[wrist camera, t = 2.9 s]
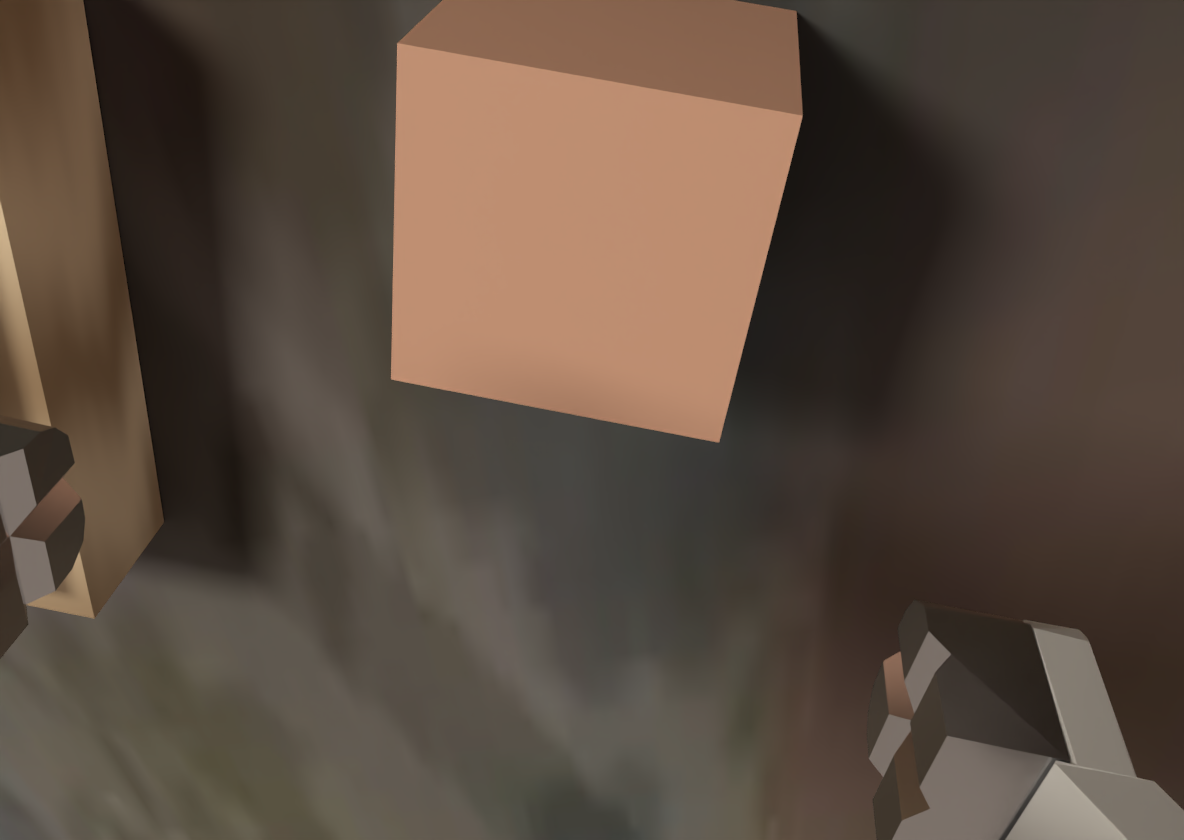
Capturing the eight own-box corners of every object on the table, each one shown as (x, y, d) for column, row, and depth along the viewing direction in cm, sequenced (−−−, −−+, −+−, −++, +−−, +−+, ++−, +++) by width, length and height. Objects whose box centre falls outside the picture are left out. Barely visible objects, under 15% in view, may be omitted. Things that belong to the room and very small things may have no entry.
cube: (488, -44, 17) (396, 43, 13) (796, 9, 16) (802, 115, 12) (470, 236, 20) (391, 379, 16) (731, 284, 19) (718, 442, 15)
